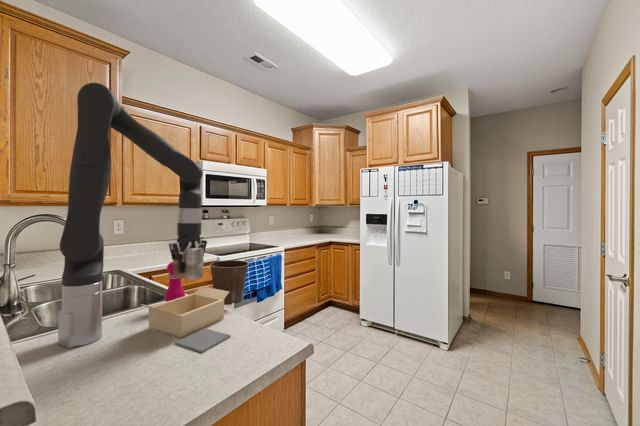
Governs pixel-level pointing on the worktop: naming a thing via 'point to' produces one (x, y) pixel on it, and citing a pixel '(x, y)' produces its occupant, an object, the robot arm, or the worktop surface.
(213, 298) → the carton
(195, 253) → the block
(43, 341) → the worktop surface
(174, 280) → the pepper mill
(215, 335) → the plate
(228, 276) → the plant pot
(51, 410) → the worktop surface
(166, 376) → the worktop surface
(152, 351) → the worktop surface
